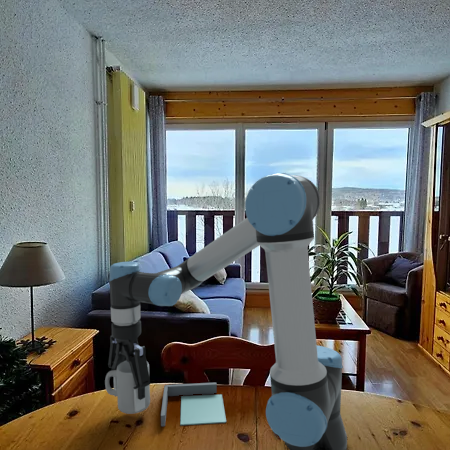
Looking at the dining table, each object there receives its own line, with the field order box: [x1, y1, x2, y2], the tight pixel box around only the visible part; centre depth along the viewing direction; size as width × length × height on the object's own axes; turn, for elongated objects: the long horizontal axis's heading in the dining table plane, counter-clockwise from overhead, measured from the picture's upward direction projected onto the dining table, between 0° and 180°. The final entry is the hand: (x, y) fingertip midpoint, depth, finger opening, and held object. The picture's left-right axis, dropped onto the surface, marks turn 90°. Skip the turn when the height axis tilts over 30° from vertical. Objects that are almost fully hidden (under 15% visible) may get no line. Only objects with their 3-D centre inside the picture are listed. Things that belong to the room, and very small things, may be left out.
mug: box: [104, 360, 151, 415], centre depth 100 cm, size 12×8×11 cm
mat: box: [180, 393, 227, 426], centre depth 103 cm, size 12×13×1 cm
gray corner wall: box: [160, 382, 218, 427], centre depth 104 cm, size 16×15×3 cm
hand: (129, 401), depth 100 cm, fingers closed on mug, 10 cm apart
